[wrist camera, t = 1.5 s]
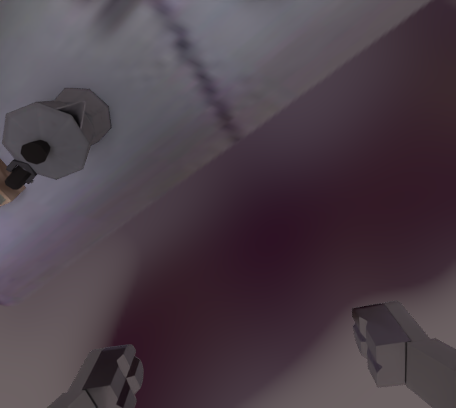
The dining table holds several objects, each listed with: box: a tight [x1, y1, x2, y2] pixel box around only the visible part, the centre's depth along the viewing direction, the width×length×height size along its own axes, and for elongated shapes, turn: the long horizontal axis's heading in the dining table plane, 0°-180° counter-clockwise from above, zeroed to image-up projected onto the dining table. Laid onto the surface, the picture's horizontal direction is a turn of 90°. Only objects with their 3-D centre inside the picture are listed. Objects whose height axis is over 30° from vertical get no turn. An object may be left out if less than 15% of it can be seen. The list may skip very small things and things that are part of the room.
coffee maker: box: [2, 88, 111, 190], centre depth 35 cm, size 15×9×18 cm, turn 132°
